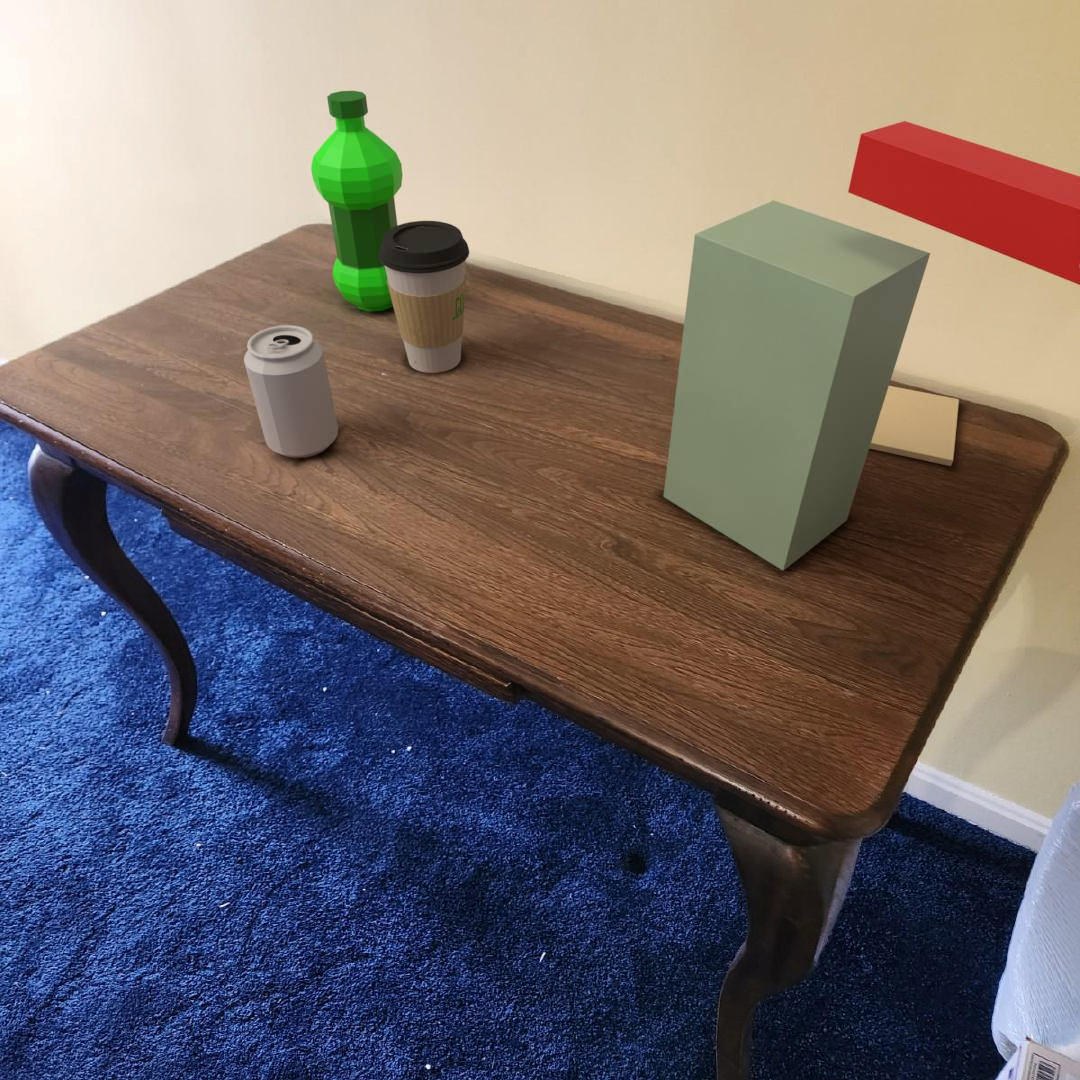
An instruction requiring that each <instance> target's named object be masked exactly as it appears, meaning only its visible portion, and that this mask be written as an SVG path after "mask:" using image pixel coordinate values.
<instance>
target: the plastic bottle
mask: <svg viewBox="0 0 1080 1080" xmlns="http://www.w3.org/2000/svg"><path fill="white" fill-rule="evenodd" d="M326 98H327V105H328V111H329V115H330V116H331V117H332V118H334V120H335V126H336V129H335V130H334V131H333V132H332V133H331V134H330V135H329V137H328V138H327V139H326V140H325V141H324V142H323V143H322V145H321V146H320V147H319V148H318V149H317V151H316V152H315V153H314V155H313V156H312V160H311V166H310V170H311V176H312V180H313V183H314V185H315V188H316V191H317V192H318V194H319V195H320V196H321V197H322V199H323V200H324V201H326V202H327V203H328V211H329V215H330V222H331V227H332V228H331V229H332V234H333V239H334V245H335V252H336V259H335V260H334V261H335V262H334V264H333V268H332V279H333V283H334V284H335V286H336V288H337V289H338V290H339V292H340V294H341V295H342V297H343V298H344V299H345V300H346V301H347V302H348V303H350V304H351V305H353V306H355V307H357V308H358V309H359V310H362V311H366V312H368V313H369V312H370V313H371V312H382V311H386V310H388V309H389V308H392V307H393V303H392V299H391V295H390V291H389V287H388V284H387V279H388V277H387V273H386V269H385V265H383V264H382V263H381V262H380V259H379V249H380V247H381V245H382V242H383V236H384V234H385V233H386V232H387V231H388V230H390V229H391V228H393V227H395V226H398V219H397V210H396V202H395V201H396V200H395V196H396V194H397V193H398V192H399V190H400V189H401V187H402V185H403V167H402V162H401V160H400V158H399V156H398V154H397V152H396V151H395V150H394V149H393V148H392V147H391V146H390V145H389V144H388V143H386V142H385V141H384V140H383V139H382V138H381V137H379V136H378V135H377V134H376V133H375V132H374V131H372V130H371V129H369V128H367V127H366V123H365V116H366V115H367V114H368V113H369V109H368V101H367V95H366V94H365V93H364V92H363V91H357V90H340V91H336V92H332V93H331V92H330V94H328V95H327V96H326Z"/></svg>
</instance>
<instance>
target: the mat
mask: <svg viewBox="0 0 1080 1080" xmlns="http://www.w3.org/2000/svg"><path fill="white" fill-rule="evenodd" d="M959 404H960V399H959V398H956V397H955V398H954V397H950V396H944V395H939V394H933V393H929V392H924V391H920V390H919V391H917V390H913V389H908V388H903V387H898V386H893V385H889V387H888V390H887V393H886V396H885V400H884V403H883V406H882V409H881V412H880V416H879V419H878V422H877V425H876V428H875V432H874V435H873V438H872V441H871V444H870V447H869V450H874V451H879V452H883V453H889V454H893V455H897V456H901V457H906V458H911V459H916V460H920V461H925V462H929V463H933V464H938V465H943V466H947V467H951V466H952V465H953V462H954V456H955V445H956V437H957V436H956V435H957V425H958V414H959Z"/></svg>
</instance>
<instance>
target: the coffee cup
mask: <svg viewBox="0 0 1080 1080" xmlns="http://www.w3.org/2000/svg"><path fill="white" fill-rule="evenodd" d="M469 256H470V247H469V245H468V243H467V241H466V239H465V238H464V235H463V233H462V231H461V230H460V228H459V227H457V226H455V225H453V224H452V223H448V222H444V221H437V220H416V221H409V222H404V223H401V224H397V226H395V227H393V228H391V229H390V230H388V231H387V232H386V233H385V234H384V236H383V242H382V245H381V247H380V249H379V259H380V262H381V263H382V264H383V265H385V269H386V273H387V277H388V279H387V284H388V287H389V291H390V295H391V299H392V303H393V306H392V307H393V310H394V314H395V319H396V323H397V326H398V329H399V330H398V331H399V335H400V337H401V339H402V341H403V345H404V348H405V352H406V357H407V361H408V364H409V365H410V367H411V368H413V369H414V370H416V371H418V372H422V373H427V374H438V373H444V372H448V371H450V370H452V369H454V368H456V367H457V366H458V365H459V363H460V362H461V359H462V341H463V339H462V337H463V333H464V322H465V303H466V301H465V300H466V283H467V277H466V261H467V259H468V258H469Z"/></svg>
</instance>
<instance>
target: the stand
mask: <svg viewBox="0 0 1080 1080" xmlns="http://www.w3.org/2000/svg"><path fill="white" fill-rule="evenodd" d="M692 247H693V248H692V256H691V263H690V264H691V265H690V272H689V281H688V289H687V297H686V304H685V305H686V306H685V314H684V322H683V331H682V339H681V346H680V347H681V348H680V356H679V363H678V370H677V371H678V372H677V381H676V389H675V397H674V404H673V414H672V423H671V429H670V438H669V448H668V456H667V464H666V472H665V481H664V489H663V495H662V496H663V498H665V499H666V500H668V501H670V502H671V503H673V504H674V505H676V506H677V507H679V508H680V509H683V510H684V511H686V512H687V513H688V514H690V515H692V516H694V517H695V518H697V519H698V520H700V521H702V522H703V523H705V524H707V525H708V526H710V527H711V528H713V529H714V530H716V531H718V532H720V533H721V534H723V535H725V536H726V537H728V538H729V539H731V540H732V541H734V542H736V543H737V544H738V545H740V546H742V547H744V548H746V549H747V550H748V551H750V552H752V553H754V554H755V555H757V556H759V557H760V558H761V559H763V560H765V561H766V562H768V563H769V564H771V565H772V566H775V567H776V568H777V569H779V570H781V571H783V572H784V571H785V570H786V569H788V568H789V567H790V566H791V565H792V564H794V563H796V561H798V560H799V559H800V558H802V557H803V556H804V555H805V554H807V553H808V552H809V551H810V550H811V549H813V548H814V547H815V546H816V545H818V544H819V543H820V542H821V541H823V540H824V539H825V538H826V537H828V536H829V535H831V534H832V533H833V532H834V531H835V530H836V529H838V528H839V527H840V526H841V525H843V524H844V523H845V522H847V521H848V517H849V514H850V511H851V507H852V505H853V501H854V498H855V495H856V491H857V488H858V486H859V482H860V480H861V479H860V478H861V475H862V474H863V473H862V472H863V470H864V466H865V463H866V460H867V457H868V454H869V451H870V449H869V447H870V444H871V441H872V438H873V435H874V432H875V428H876V425H877V422H878V419H879V416H880V412H881V409H882V406H883V403H884V400H885V396H886V393H887V390H888V387H889V386H890V384H891V380H892V377H893V374H894V371H895V367H896V364H897V361H898V359H899V355H900V352H901V348H902V345H903V343H904V339H905V335H906V332H907V329H908V326H909V323H910V320H911V317H912V313H913V310H914V307H915V303H916V300H917V298H918V294H919V291H920V288H921V284H922V281H923V278H924V275H925V272H926V270H927V265H928V262H929V259H930V256H931V253H930V252H928V251H925V250H922V249H920V248H917V247H914V246H910V245H908V244H905V243H901V242H899V241H896V240H893V239H890V238H886V237H884V236H881V235H877V234H874V233H871V232H869V231H866V230H863V229H860V228H857V227H854V226H851V225H848V224H845V223H842V222H838V221H837V220H833V219H830V218H828V217H824V216H821V215H818V214H815V213H813V212H809V211H807V210H804V209H800V208H798V207H795V206H791V205H789V204H785V203H782V202H780V201H777V200H771V201H769V202H765V203H764V204H761V205H759V206H757V207H754V208H752V209H749V210H748V211H746V212H743V213H741V214H739V215H735V216H733V217H732V218H729V219H727V220H724V221H722V222H719V223H717V224H715V225H712V226H711V227H708V228H705V229H703V230H701V231H700V232H697V233H695V234H694V240H693V246H692Z"/></svg>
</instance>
